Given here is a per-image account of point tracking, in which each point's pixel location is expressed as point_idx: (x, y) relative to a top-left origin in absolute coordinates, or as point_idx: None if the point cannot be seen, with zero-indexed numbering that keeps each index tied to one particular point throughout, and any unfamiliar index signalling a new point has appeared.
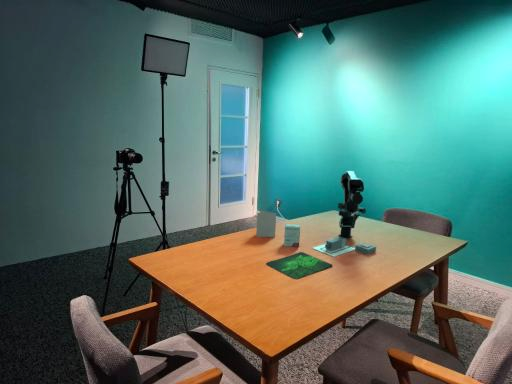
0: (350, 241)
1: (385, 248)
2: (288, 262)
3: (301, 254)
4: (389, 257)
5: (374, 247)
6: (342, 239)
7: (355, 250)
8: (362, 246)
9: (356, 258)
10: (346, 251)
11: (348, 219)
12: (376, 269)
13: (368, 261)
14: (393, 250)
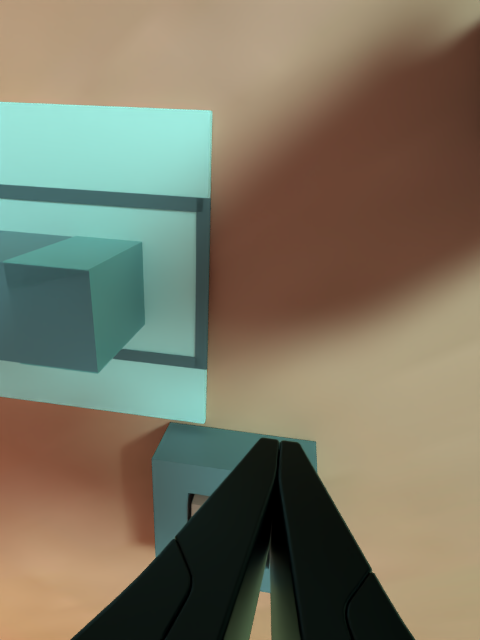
0: (411, 248)
1: (471, 578)
2: None
3: None
4: (271, 637)
5: (265, 591)
6: (26, 362)
7: (170, 427)
8: (187, 514)
9: (32, 497)
10: (56, 394)
11: (134, 585)
12: (12, 624)
13: (68, 566)
14: (468, 630)
